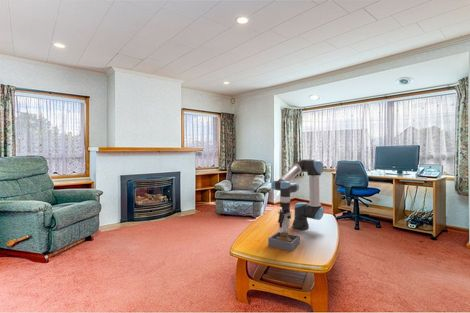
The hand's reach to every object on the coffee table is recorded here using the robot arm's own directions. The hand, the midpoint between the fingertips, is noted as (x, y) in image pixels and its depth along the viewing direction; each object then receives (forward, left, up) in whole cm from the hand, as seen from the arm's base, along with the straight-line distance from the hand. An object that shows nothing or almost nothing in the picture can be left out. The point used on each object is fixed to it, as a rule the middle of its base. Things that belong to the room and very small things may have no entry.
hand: (284, 229), depth 194 cm
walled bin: (0, 0, -12) cm, 12 cm away
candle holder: (0, 0, -11) cm, 11 cm away
